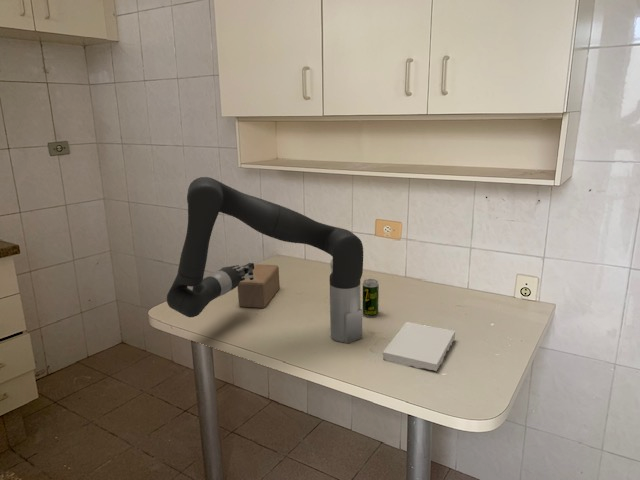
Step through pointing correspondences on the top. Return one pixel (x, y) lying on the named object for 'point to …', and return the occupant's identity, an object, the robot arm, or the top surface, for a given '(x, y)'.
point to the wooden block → (259, 286)
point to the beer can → (370, 298)
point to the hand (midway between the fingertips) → (252, 265)
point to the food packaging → (419, 346)
